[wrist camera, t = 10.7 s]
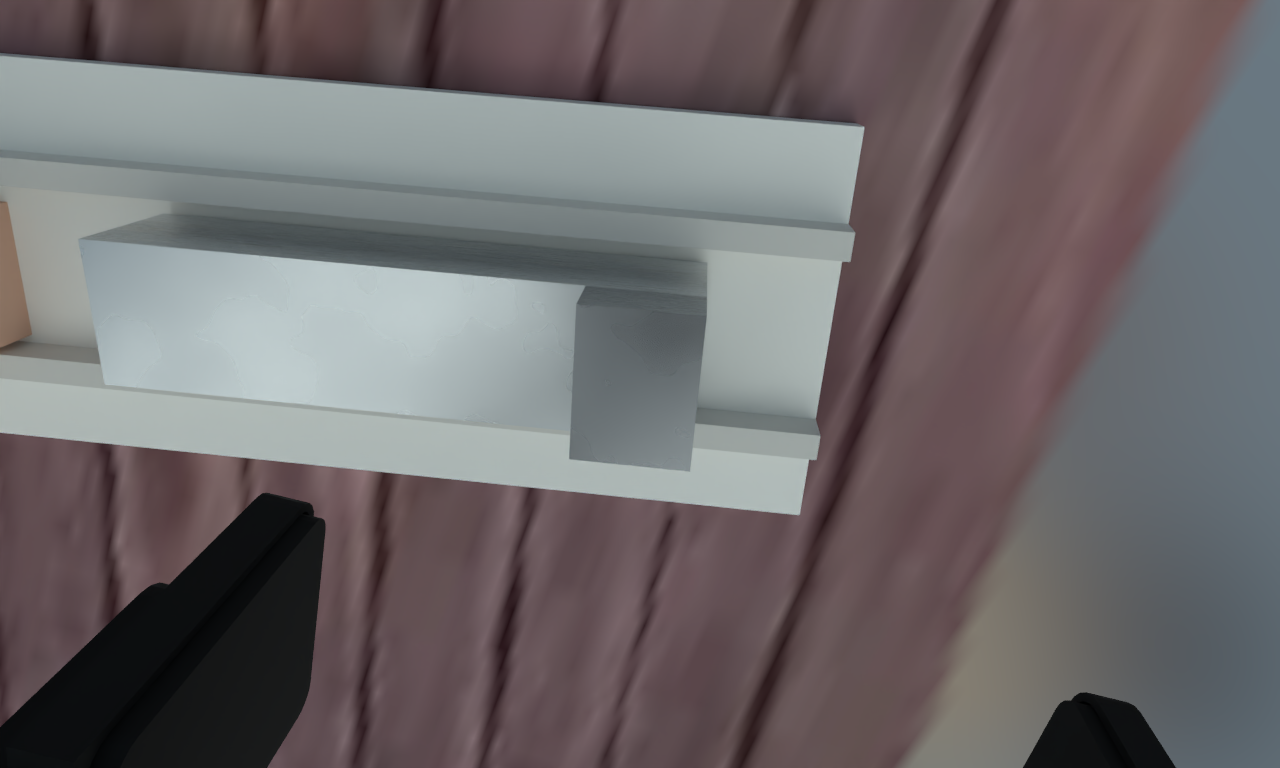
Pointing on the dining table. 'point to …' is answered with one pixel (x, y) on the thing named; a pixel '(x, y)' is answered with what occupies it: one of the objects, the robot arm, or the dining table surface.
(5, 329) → the block
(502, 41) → the dining table surface
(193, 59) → the dining table surface
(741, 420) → the grey slide rail track
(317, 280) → the grey sliding carriage block
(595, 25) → the dining table surface
